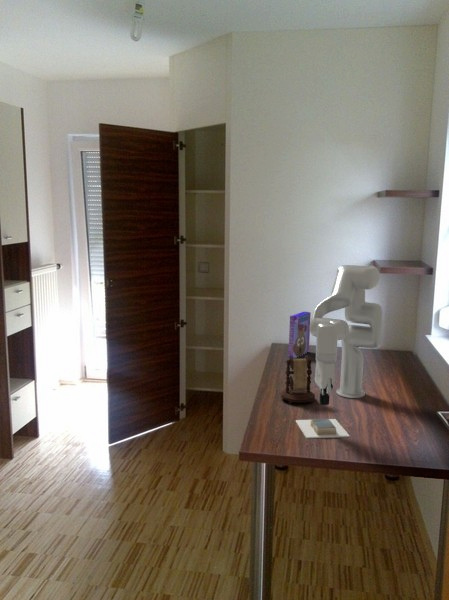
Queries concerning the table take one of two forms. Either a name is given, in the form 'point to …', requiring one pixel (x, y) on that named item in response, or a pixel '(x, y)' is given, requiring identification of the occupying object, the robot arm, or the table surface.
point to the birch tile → (323, 427)
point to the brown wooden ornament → (298, 381)
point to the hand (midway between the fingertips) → (324, 404)
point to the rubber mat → (310, 433)
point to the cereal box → (299, 334)
